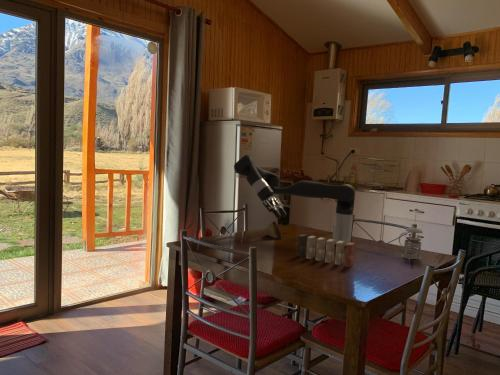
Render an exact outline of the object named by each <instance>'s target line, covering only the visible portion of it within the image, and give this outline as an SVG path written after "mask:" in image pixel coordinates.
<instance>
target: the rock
mask: <svg viewBox="0 0 500 375" xmlns="http://www.w3.org/2000/svg"><path fill="white" fill-rule="evenodd" d="M266 230H267V231H266V235H267V236H269V237H270V236H271V238H273V237H274V238H273V239H276V238H278V239H277V240H284V239H283V235H282V232H281V230H280V227H279V225H278V224H277V222H276V221H275V220H274V221H272V222H271V223H270V224H269V225H268V228H267V229H266Z"/></svg>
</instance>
